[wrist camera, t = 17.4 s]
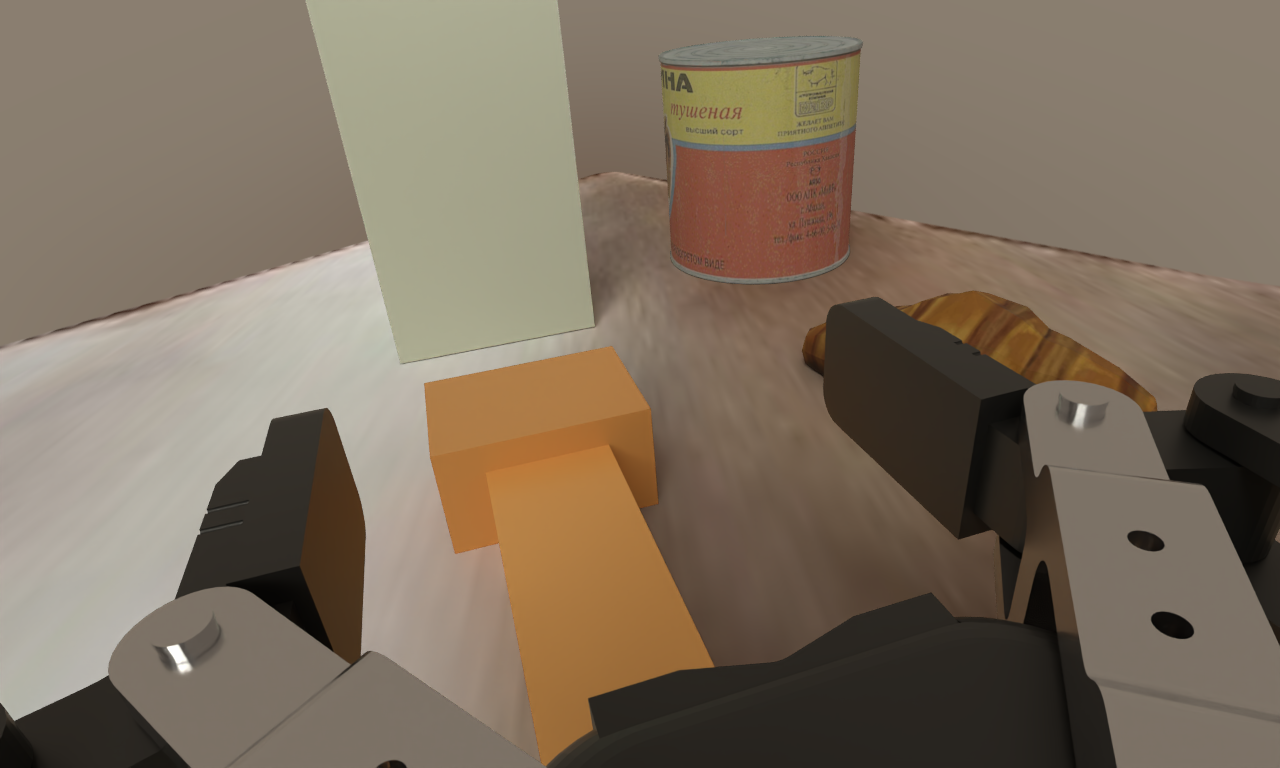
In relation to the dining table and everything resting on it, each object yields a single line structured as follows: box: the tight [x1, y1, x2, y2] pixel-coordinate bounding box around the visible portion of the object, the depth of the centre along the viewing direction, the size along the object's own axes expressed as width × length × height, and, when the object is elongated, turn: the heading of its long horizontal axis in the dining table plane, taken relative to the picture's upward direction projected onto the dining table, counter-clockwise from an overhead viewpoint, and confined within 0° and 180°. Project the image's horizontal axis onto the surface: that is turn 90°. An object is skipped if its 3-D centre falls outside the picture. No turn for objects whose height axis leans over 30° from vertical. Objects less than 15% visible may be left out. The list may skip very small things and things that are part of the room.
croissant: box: [802, 291, 1157, 412], centre depth 29 cm, size 14×7×5 cm, turn 52°
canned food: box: [659, 36, 863, 284], centre depth 45 cm, size 11×11×12 cm
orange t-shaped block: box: [424, 346, 715, 766], centre depth 20 cm, size 20×7×4 cm, turn 16°
